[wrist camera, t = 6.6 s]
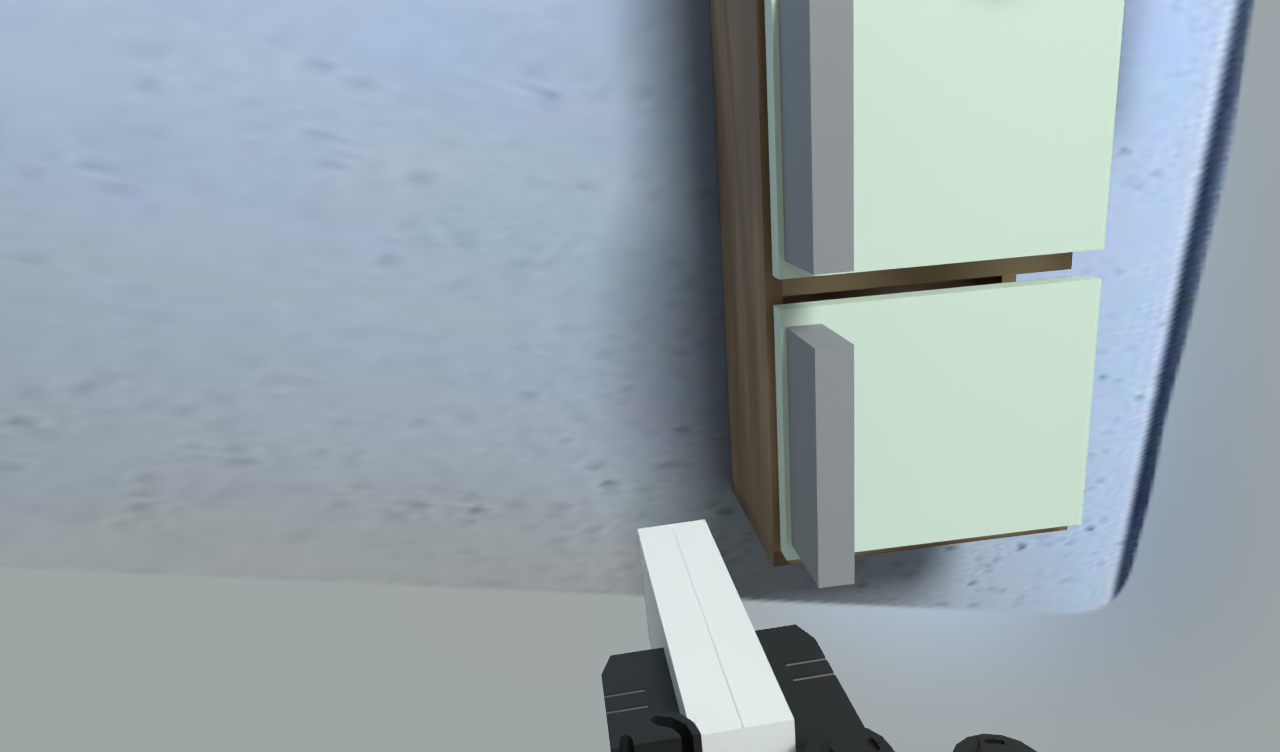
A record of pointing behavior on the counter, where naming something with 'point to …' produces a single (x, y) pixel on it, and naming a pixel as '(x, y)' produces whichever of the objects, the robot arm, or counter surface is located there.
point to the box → (759, 290)
